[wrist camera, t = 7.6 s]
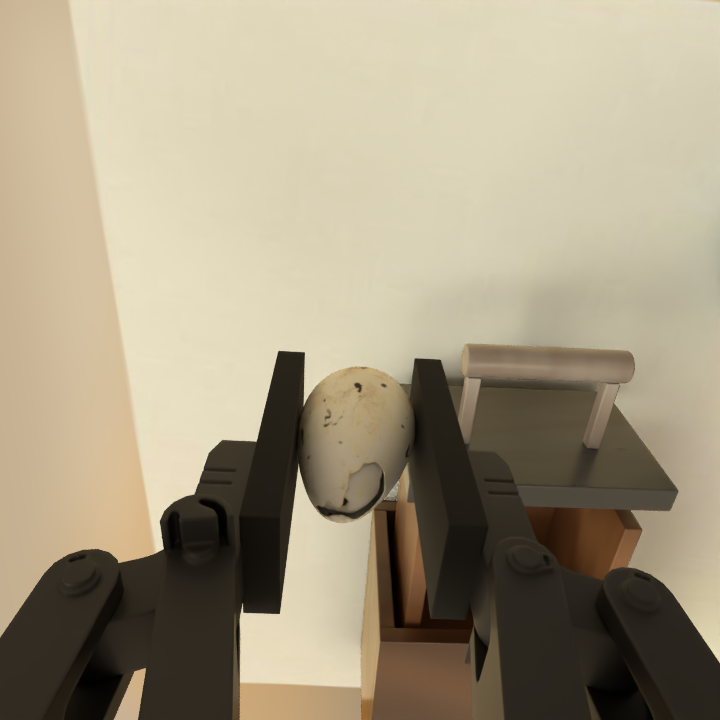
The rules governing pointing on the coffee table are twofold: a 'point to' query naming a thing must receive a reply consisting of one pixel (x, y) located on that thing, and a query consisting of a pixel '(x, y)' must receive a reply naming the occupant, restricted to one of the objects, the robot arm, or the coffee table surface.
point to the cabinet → (407, 649)
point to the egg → (354, 441)
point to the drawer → (545, 464)
